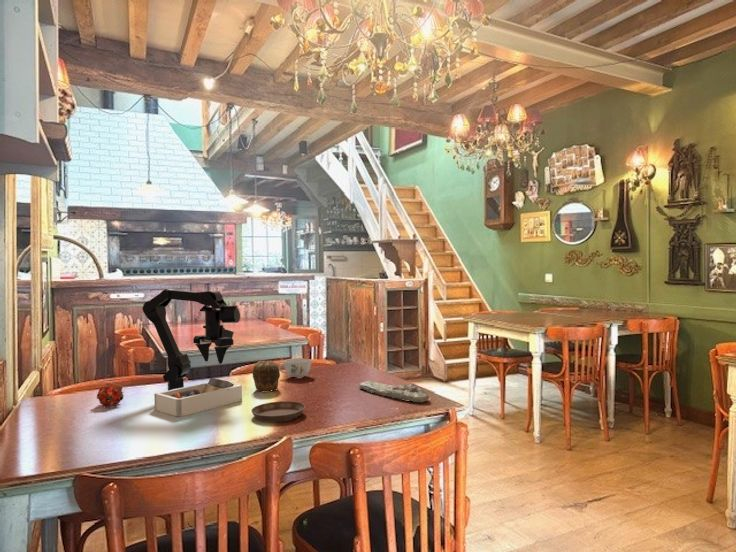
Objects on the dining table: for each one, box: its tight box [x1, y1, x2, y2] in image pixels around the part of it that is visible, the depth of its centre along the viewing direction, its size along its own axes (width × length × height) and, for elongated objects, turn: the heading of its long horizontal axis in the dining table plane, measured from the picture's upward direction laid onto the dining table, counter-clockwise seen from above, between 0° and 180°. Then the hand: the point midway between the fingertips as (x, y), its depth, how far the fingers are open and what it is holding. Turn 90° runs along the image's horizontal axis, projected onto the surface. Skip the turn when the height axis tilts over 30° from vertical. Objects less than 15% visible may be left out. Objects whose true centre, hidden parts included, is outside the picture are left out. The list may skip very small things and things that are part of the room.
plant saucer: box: [250, 400, 306, 423], centre depth 167 cm, size 18×18×3 cm
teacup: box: [278, 357, 313, 378], centre depth 228 cm, size 15×12×8 cm
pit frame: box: [153, 381, 243, 418], centre depth 182 cm, size 15×26×6 cm, turn 142°
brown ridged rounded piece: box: [252, 360, 281, 392], centre depth 204 cm, size 11×11×12 cm
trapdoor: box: [203, 377, 235, 393], centre depth 188 cm, size 12×9×3 cm
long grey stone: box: [358, 380, 430, 403], centre depth 194 cm, size 35×5×10 cm
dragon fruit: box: [96, 382, 125, 408], centre depth 183 cm, size 8×8×12 cm
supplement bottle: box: [171, 389, 200, 399], centre depth 178 cm, size 6×6×11 cm
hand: (213, 362), depth 196 cm, fingers open, 9 cm apart
